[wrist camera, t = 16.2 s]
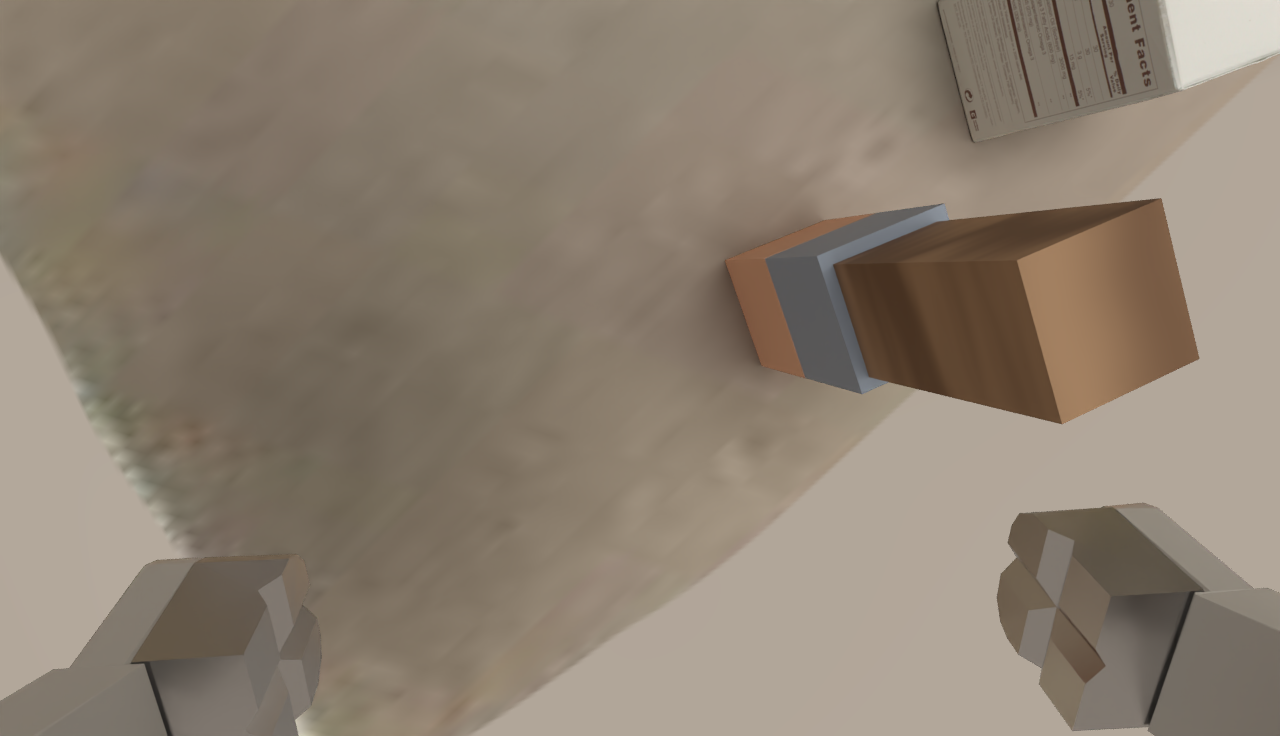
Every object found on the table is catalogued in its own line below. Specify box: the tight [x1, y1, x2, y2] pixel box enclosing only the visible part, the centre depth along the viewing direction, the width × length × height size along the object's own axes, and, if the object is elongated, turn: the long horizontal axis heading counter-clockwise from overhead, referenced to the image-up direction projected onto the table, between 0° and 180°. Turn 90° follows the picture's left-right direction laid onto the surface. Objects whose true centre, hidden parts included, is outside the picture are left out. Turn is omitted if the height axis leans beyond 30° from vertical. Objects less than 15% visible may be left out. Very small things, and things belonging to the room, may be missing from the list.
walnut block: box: [833, 198, 1199, 424], centre depth 26 cm, size 4×4×10 cm
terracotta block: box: [725, 213, 875, 378], centre depth 38 cm, size 6×6×5 cm
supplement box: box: [938, 0, 1280, 142], centre depth 36 cm, size 7×7×13 cm
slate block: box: [765, 204, 949, 394], centre depth 33 cm, size 6×6×5 cm
